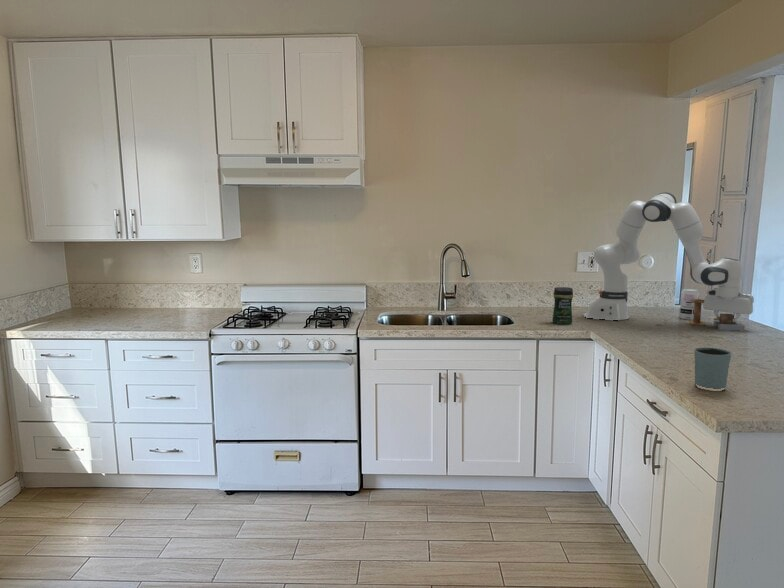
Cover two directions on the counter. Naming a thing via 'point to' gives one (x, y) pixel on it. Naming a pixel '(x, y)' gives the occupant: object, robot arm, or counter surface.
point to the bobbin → (697, 312)
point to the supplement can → (688, 303)
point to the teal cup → (711, 367)
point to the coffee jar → (562, 305)
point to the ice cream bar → (725, 319)
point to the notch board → (729, 326)
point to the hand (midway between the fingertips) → (726, 321)
